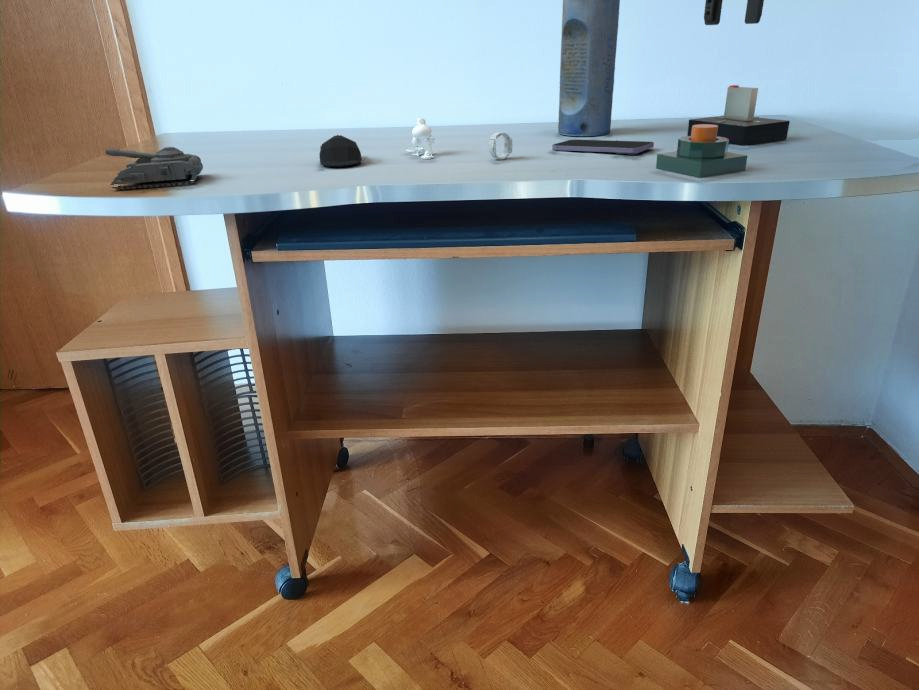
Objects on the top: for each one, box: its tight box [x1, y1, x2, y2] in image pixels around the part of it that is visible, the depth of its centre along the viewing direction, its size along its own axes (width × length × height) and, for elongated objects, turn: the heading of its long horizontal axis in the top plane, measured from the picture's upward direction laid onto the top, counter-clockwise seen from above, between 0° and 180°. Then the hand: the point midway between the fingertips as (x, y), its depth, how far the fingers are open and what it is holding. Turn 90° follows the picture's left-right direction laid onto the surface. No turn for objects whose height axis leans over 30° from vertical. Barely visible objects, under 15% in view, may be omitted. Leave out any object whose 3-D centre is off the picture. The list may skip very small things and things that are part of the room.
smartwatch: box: [487, 131, 513, 161], centre depth 98 cm, size 4×2×4 cm, turn 123°
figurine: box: [406, 117, 437, 160], centre depth 104 cm, size 5×10×6 cm, turn 8°
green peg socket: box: [655, 135, 748, 179], centre depth 85 cm, size 8×8×4 cm
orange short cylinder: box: [691, 124, 718, 141], centre depth 84 cm, size 3×3×2 cm
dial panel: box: [686, 115, 791, 147], centre depth 107 cm, size 12×10×3 cm
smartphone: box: [551, 139, 655, 156], centre depth 102 cm, size 7×1×15 cm
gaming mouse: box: [318, 134, 362, 168], centre depth 102 cm, size 6×15×4 cm, turn 11°
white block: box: [723, 84, 759, 121], centre depth 105 cm, size 5×1×5 cm, turn 26°
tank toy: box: [105, 146, 204, 191], centre depth 90 cm, size 12×10×5 cm
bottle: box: [557, 0, 621, 137], centre depth 113 cm, size 10×10×30 cm
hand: (732, 24), depth 95 cm, fingers open, 8 cm apart
